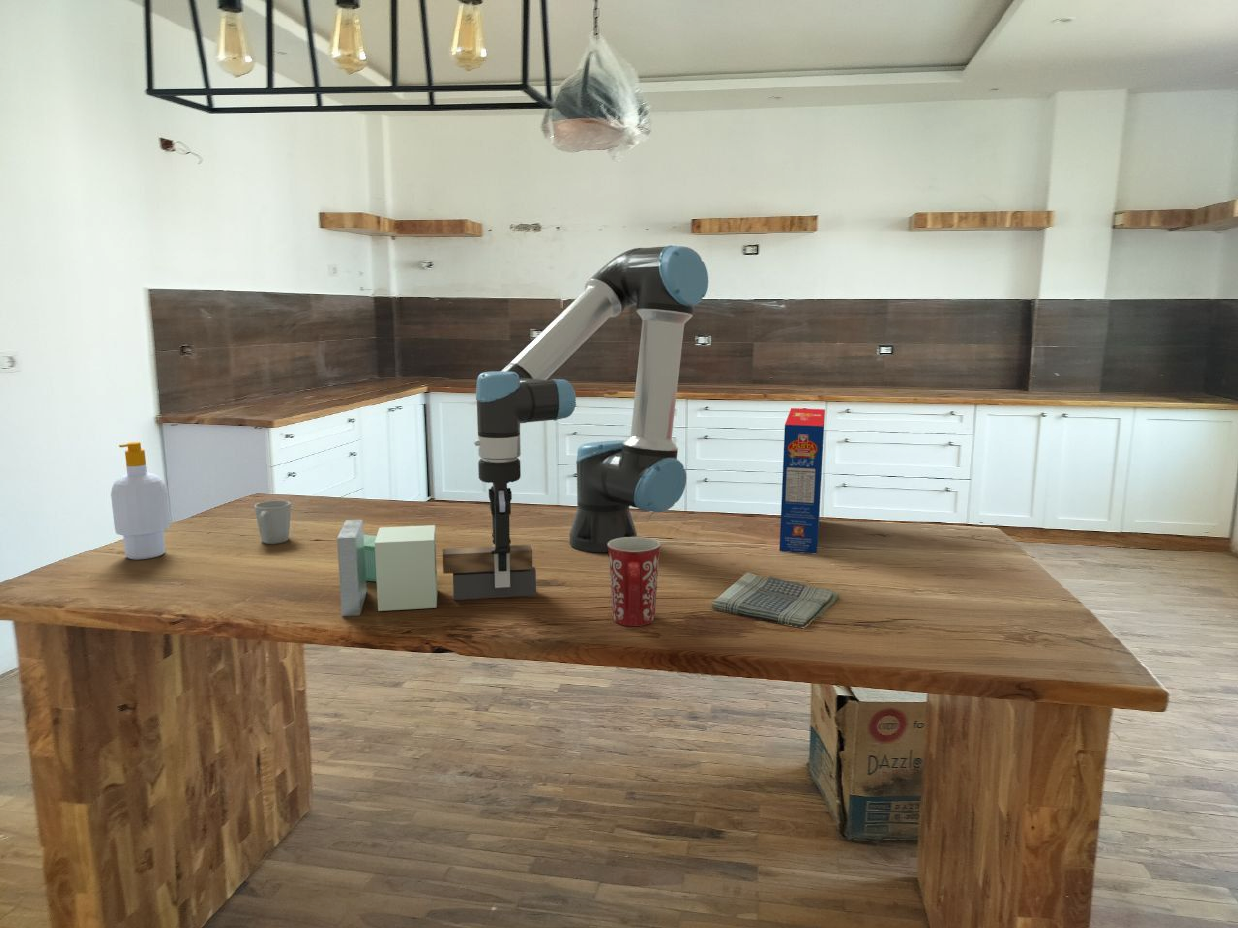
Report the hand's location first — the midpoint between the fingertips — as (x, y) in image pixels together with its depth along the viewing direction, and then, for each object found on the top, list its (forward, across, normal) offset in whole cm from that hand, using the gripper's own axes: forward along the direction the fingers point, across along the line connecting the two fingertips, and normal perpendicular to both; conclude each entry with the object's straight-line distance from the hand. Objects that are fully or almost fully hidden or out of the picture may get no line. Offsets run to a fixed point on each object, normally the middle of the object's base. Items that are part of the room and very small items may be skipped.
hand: (501, 582), depth 158 cm
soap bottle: (+3, -38, -73) cm, 82 cm away
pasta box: (+2, -28, +71) cm, 76 cm away
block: (+2, 0, -17) cm, 17 cm away
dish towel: (+3, +13, +49) cm, 51 cm away
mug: (+3, +18, +21) cm, 28 cm away
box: (+3, -15, -23) cm, 27 cm away
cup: (+3, -44, -48) cm, 65 cm away
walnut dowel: (-3, 0, -2) cm, 4 cm away
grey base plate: (+2, 0, -26) cm, 26 cm away
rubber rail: (+2, 0, -1) cm, 3 cm away
